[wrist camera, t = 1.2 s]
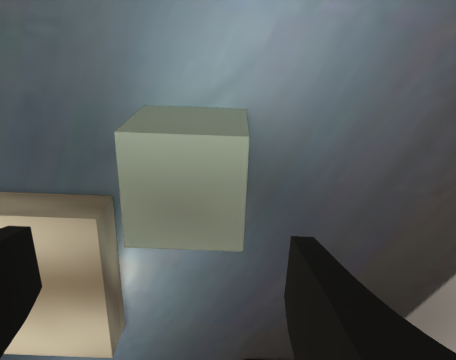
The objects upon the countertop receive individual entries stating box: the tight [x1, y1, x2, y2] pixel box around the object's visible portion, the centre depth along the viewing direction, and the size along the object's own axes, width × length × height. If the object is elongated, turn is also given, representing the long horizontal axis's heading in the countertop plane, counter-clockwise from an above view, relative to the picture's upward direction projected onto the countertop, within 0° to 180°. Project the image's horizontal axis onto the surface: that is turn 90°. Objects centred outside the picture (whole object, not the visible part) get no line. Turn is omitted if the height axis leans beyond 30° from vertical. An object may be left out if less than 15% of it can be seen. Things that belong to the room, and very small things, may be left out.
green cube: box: [114, 105, 249, 252], centre depth 17 cm, size 5×5×5 cm
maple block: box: [0, 192, 125, 358], centre depth 21 cm, size 9×9×3 cm
